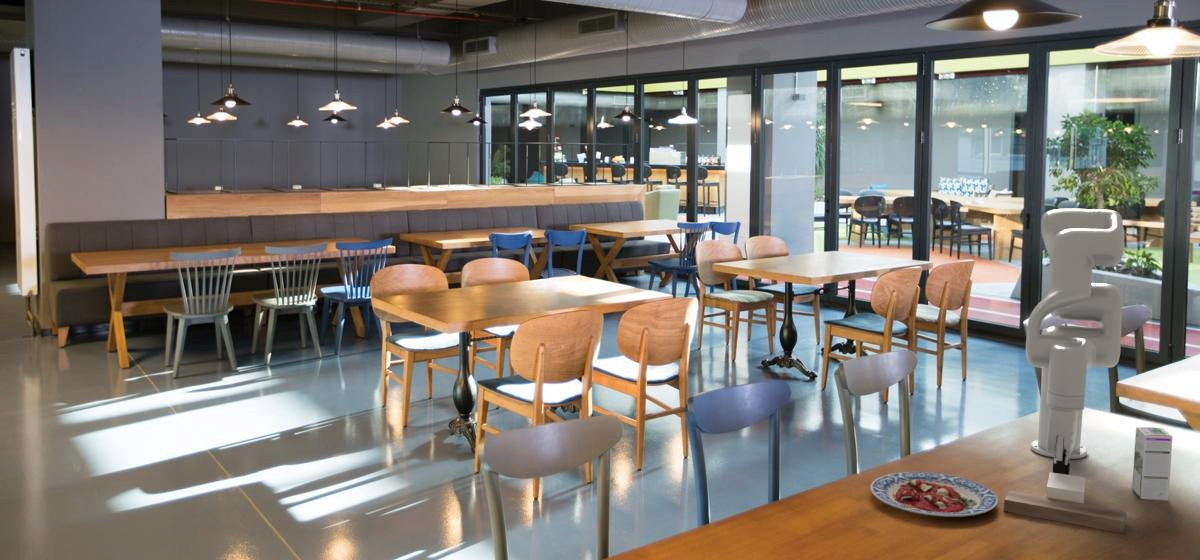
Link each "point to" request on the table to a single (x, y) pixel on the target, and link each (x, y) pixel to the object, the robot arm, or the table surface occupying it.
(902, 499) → the ceramic plate
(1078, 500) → the block
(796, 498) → the table surface
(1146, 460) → the syrup box
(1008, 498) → the plank
